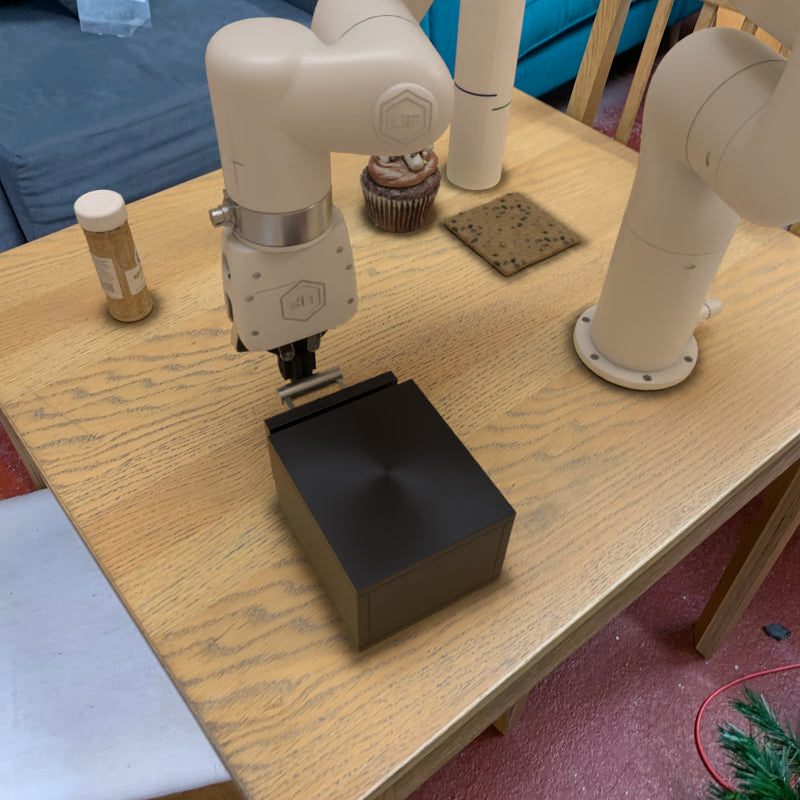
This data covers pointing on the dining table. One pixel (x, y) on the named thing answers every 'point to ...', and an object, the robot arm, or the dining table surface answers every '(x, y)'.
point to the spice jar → (114, 253)
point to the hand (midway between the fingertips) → (298, 377)
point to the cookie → (511, 232)
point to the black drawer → (322, 404)
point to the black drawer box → (389, 510)
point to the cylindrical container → (483, 90)
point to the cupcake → (401, 189)
